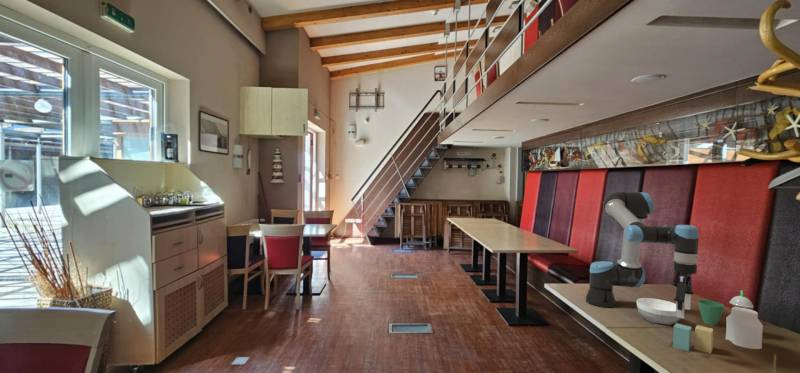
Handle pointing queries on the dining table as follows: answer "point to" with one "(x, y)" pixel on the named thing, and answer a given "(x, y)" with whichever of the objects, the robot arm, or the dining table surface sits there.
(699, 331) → the pale yellow block
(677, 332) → the teal rectangular block
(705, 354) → the board
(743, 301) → the smoothie
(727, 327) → the jar
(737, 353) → the dining table surface
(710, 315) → the mug
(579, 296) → the dining table surface
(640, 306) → the bowl
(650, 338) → the dining table surface
